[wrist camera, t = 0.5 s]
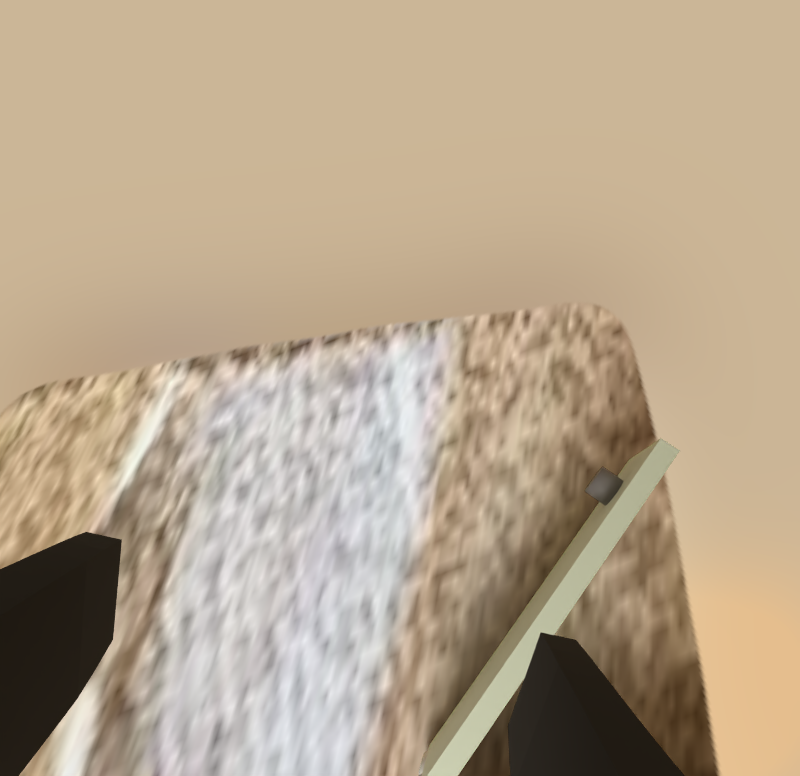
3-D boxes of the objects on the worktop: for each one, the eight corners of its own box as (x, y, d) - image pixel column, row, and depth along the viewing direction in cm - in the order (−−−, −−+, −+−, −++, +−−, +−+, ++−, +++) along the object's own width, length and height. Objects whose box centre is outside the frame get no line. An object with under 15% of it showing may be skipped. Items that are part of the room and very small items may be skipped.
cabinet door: (644, 470, 33) (679, 450, 27) (434, 774, 30) (424, 824, 24) (610, 447, 33) (638, 423, 28) (401, 742, 30) (384, 784, 24)
